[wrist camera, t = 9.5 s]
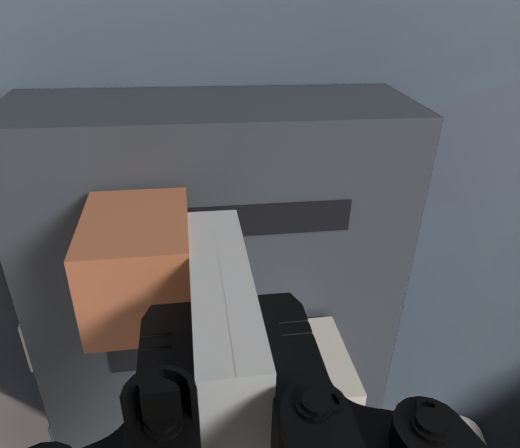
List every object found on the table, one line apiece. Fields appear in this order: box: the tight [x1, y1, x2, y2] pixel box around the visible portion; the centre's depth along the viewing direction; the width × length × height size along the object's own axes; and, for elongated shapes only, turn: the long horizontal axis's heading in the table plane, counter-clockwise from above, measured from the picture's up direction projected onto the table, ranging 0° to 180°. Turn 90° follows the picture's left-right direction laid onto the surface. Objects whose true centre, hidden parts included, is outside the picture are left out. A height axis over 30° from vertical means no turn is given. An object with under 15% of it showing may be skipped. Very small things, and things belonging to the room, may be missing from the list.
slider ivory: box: [308, 316, 367, 406], centre depth 18 cm, size 3×3×4 cm
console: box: [0, 84, 444, 448], centre depth 21 cm, size 19×16×5 cm
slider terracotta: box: [64, 187, 191, 354], centre depth 14 cm, size 3×3×4 cm
